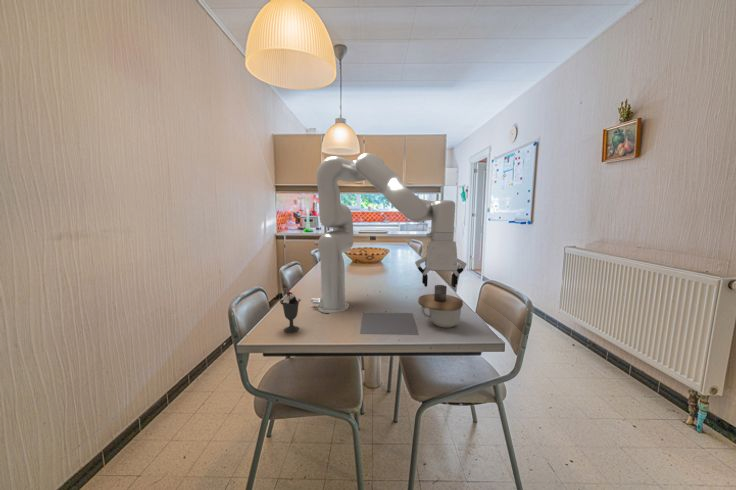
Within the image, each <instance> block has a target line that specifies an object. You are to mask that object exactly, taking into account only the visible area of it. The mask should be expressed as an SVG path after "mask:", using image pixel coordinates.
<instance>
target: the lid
mask: <svg viewBox="0 0 736 490" xmlns="http://www.w3.org/2000/svg"><path fill="white" fill-rule="evenodd" d="M417 301H418V305H420V306H421V307H422V306H423V307H425V309H428V310H429V309H433V310H440V311H451V310H457V309H460V308H461V309H462V308H463V305H464V301H463V300H462V299H460V298H459V297H456V296H454V295H449V294H447V285H445V284H435V285H434V293H429V294H423V295H420V296H419V297H418V300H417Z"/></svg>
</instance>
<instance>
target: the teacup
mask: <svg viewBox="0 0 736 490" xmlns="http://www.w3.org/2000/svg"><path fill="white" fill-rule="evenodd" d="M425 309H426V308H425V307H423V306H421V308H420V313H421V315H423V317H425V318H427V319H428V320H429V321H430V322H432V324H434V325H435V326H436V327H440V328H445V329H446V328H447V329H449V328H453V327H455V326H457V325H459V323H460V321H461V313H462V311H461V310H462V307H461V308H460V309H457V310H451V311H440V310H433V309H429V308H428V310H429V314H427V313H425Z"/></svg>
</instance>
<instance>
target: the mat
mask: <svg viewBox="0 0 736 490" xmlns="http://www.w3.org/2000/svg"><path fill="white" fill-rule="evenodd" d="M360 324H361V326H360V331H359V332H360V333H359V335H398V336H399V335H402V336H405V335H406V336H410V335H411V336H418V335H420V334H419V330H418V327H417V325H416V321H415V317H414V314H413V313H412V312H365V311H364V312H362V319H361V323H360Z"/></svg>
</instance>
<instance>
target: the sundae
mask: <svg viewBox="0 0 736 490" xmlns="http://www.w3.org/2000/svg"><path fill="white" fill-rule="evenodd" d="M285 288H287V291H286V293H285V294H286V295H284V297H283V299H281V300H279V301H280V302H279V303H280V304H281V305H282V308H283V314H284V317H285V318H286V319H287V321H289V326H287V327H285V328H284V329H283V331H284V332H285V333H291V334H292V333H296V332H298V331H299V330H300V327H299V326H296V325H295V324H294V320H295V319H296V318H297V317H298V312H299V304H300V302H301V301H302V300H301V299H300V298H298V297H296V295H295V294H294V293H293V292H291V291H290V290H289V287H288V285H285Z"/></svg>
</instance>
